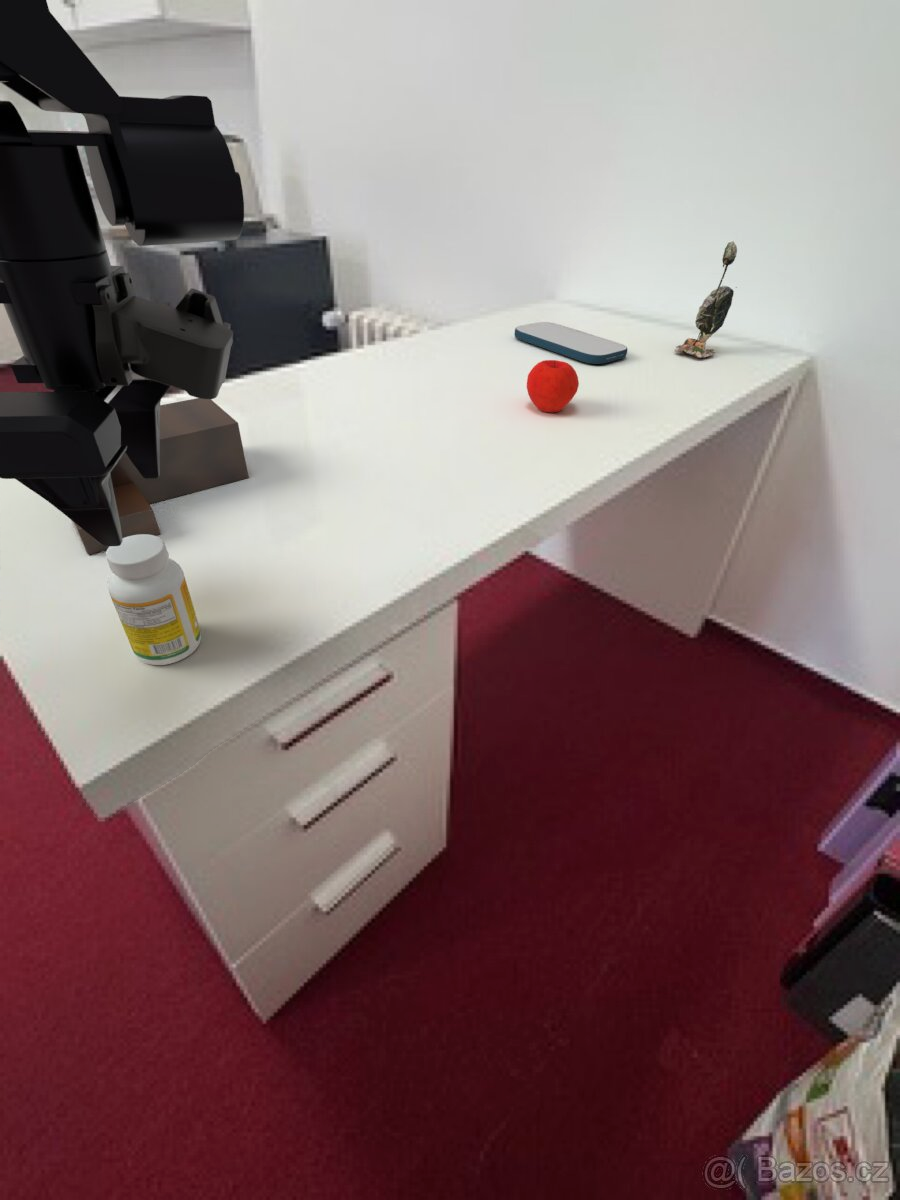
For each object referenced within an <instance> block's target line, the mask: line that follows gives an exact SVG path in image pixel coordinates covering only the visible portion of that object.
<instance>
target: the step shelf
mask: <svg viewBox="0 0 900 1200" xmlns="http://www.w3.org/2000/svg"><path fill="white" fill-rule="evenodd" d="M243 445H244V444H243V441H242V436H241V431H240V426H239V422H238V421H236V419H235V418H233V417H232V416H231V415H230V414H228V412H227V411H225V410H224V409H223V408H222V407H221V406H219V404H217V403H216V402H215V401H214V400H213V399H201V398H197V397H195V398H191V399H186V400H180V401H176V402H170V403H165V404H160V475H159V477H158V478H157V479H145V478H143V477H142V475H141V474H140V473H139V471H138V470H137V469H136V467H135V466H134V465H133V463H132V462H131V460H130V459H129V457H128V456H127V454H126V453H125V452H124V454H123V455H122V457H121V458H120V460H119V461H118V462H117V464H116V465H115V467H114V468H113V469H112V471H111V472H110V475H111V480H112V485H113V490H114V495H115V500H116V505H117V510H118V515H119V520H120V526H121V533H122V538H125V537H128V536H132V535H139V534H148V535H154V536H158V535H161V530H160V527H159V524H158V521H157V518H156V515H155V511H154V509H153V507H152V506H151V504H155V503H159V502H164V501H166V500H170V499H175V498H178V497H183V496H185V495H189V494H193V493H197V492H201V491H205V490H209V489H211V488H215V487H219V486H223V485H226V484H230V483H235V482H237V481H241V480H246V479H249V478H250V476H249V471H248V467H247V461H246V457H245V452H244V446H243ZM70 521H71V523H72V526H73V527H74V530H75V532H76V534H77V536H78V538H79V540H80V542H81V544H82V546H83V548H84V550H85V552H86V554H87V555H88V556H90V555H93V554H97V553H101V552H105V551H107V549H108V548H109V547H110V546H108V547H107V546H103V545H102V544H100V543H99V542H98V541H97V540H95V539H94V538H93V537H92V536H91V535H89V534H88V533H87V532H86V531H84V530H83V529H82V528H81V527H79V526H78V525H77V524H76V523H75V522H73V521H72V520H71V519H70Z"/></svg>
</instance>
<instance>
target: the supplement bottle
mask: <svg viewBox="0 0 900 1200" xmlns="http://www.w3.org/2000/svg"><path fill="white" fill-rule="evenodd" d="M165 543H166V542H165V541H164V540H163V539H162V538H161V537H159V536H158V535H156V536H154V535H148V534H139V535H132V536H128V537H125V538H122V543H121V545H120V546H110V547H109V548H108V549H107V550H105V557H106V561H107V563H108V566H109V569H110V571H111V574H110V575H109V578H108V580H107V591H108V594H109V596H110V599H111V602H112V604H113V606H114V609H115V611H116V614H117V616H118V618H119V621H120V623H121V626H122V628H123V631H124V633H125V635H126V638H127V640H128V643H129V646H130V647H131V650H132V653H133V654H134V657H136V659H137V660H138V661H140V662H142V663H145V664H148V665H152V666H165V665H171V664H174V663H177V662H180V661H182V660H184V659H186V658H188V657H189V656H190V655H191V654H192V653H194V652H195V651H196V650H197V648H198V647H199V645H200V643H201V640H202V631H201V628H200V627H201V626H200V624H199V621H198V618H197V614H196V611H195V607H194V603H193V600H192V597H191V594H190V591H189V587H188V584H187V580H186V576H185V573H184V570H183V568H182V567H181V565H180V564H179V563H178V562H177V561H175V560H174V559H172V558H170V555H169V554H170V553H169V552H168V549H167V546H166V544H165Z"/></svg>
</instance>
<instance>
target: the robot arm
mask: <svg viewBox="0 0 900 1200" xmlns="http://www.w3.org/2000/svg"><path fill="white" fill-rule="evenodd" d="M0 84H2V85H3V86H5V87H6V88H7V89H9V90H10V91H12V92H13V93H15V94H17V95H19V96H20V97H22V98H23V99H25V100H26V101H28V102H29V103H31V104H32V105H33V106H35V107H37V108H38V109H40V110H41V111H44V112H55V113H70V114H81V115H82V116H83V117H84V119H85V123H86V127H87V129H88V131H77V130H45V129H43V130H42V129H28V128H27V126H26V124H25V122H24V119H23V118H22V116H21V114H20V113H19V111H18V109H17V108H16V106H15V105H14V103H12V102H11V101H10V100H0V304H3V307H4V310H5V312H6V314H7V317H8V319H9V322H10V324H11V327H12V329H13V332H14V334H15V338H16V339H17V342H18V344H19V347H20V349H21V352H22V354H23V355H22V356H21V357H20V358H18V359H17V360H15V361H14V362H12V363H10V367H11V370H12V372H13V375H14V377H15V380H16V382H17V384H43V386H44V388H45V389H46V390H50V391H1V392H0V479H3V480H4V479H5V480H10V479H11V480H16V481H18V482H19V483H20V484H22V485H24V486H25V487H26V488H28V489H29V490H30V491H32V492H34V493H35V494H36V495H38V496H39V497H40V498H42V499H44V501H46V502H48V503H49V504H50V505H52V506H53V507H54V508H56V509H57V510H58V511H60V512H61V513H62V514H63V515H65V516H66V517H67V518H68V519H70V521H71V520H72V521H73V522H75V523H76V524H77V525H78V526H79V527H81V528H82V529H83V530H84V531H86V532H87V533H88V534H89V535H91V536H92V537H93V538H94V539H95V540H97V541H98V542H99V543H100V544H102V545H103V546H107V547H108V546H120V545H121V543H122V533H121V526H120V520H119V515H118V510H117V505H116V500H115V495H114V490H113V485H112V480H111V475H110V472H111V471H112V469H113V468H114V467H115V465H116V464H117V462H118V461H119V460H120V458H121V457H122V455H123V454H124V452H125V453H126V454H127V456H128V457H129V459H130V460H131V462H132V463H133V465H134V466H135V467H136V469H137V470H138V471H139V473H140V474H141V475H142V477H143V478H145V479H157V478H158V477H159V475H160V405H161V401H162V399H163V397H164V396H165V395H166V393H168V391H169V390H170V388H171V387H173V388H176V389H179V390H182V391H185V392H186V393H187V395H189V396H190V397H194V398H201V399H211V400H214V399H217V397H218V395H219V393H220V389H221V387H222V386H223V384H224V383H225V382H226V377H227V370H228V365H229V360H230V355H231V348H232V346H233V343H234V339H233V338H234V337H233V336H234V331H233V330H232V329H231V325H232V324H231V323H229V322H226V321H224V322H223V319H222V315H221V311H220V310H219V305H218V303H217V299H216V297H215V295H212V294H209V293H206V292H204V291H202V290H198V289H196V288H190V289H189V290H188V291H187V292H186V293H185V294H184V295H183V297H181V299H180V300H179V302H178V303H177V304H176V305H175V307H174V306H171V302H170V301H168V300H165V299H162V300H161V301H160V302H155V301H153V300H149V299H145V298H144V297H143V298H142V297H139V296H138V294H137V291H136V288H135V285H134V281H133V277H132V275H131V274H130V272H126V270H125V267H124V265H111V261H110V257H109V253H108V250H107V247H106V244H105V239H104V236H103V233H102V230H101V225H100V222H99V219H98V216H97V215H98V214H97V212H96V208H95V204H94V201H93V198H92V194H91V190H90V186H89V183H88V181H87V176H86V173H85V169H84V166H83V162H82V158H81V156H80V152H79V149H78V147H84V152H85V156H86V160H87V165H88V170H89V174H90V178H91V181H92V185H93V189H94V191H95V195H96V198H97V200H98V203H99V205H100V208H101V210H102V213H103V214H104V217H105V219H106V220H107V222H108V223H109V224H110V225H111V226H112V227H119V226H120V227H121V226H125V228H126V231H127V232H128V234H129V236H130V238H131V239H132V241H133V243H135V244H136V245H137V246H139V247H145V246H162V245H163V246H164V245H177V244H181V245H182V244H194V243H210V242H227V241H236V240H238V239H239V238H240V237H241V235H242V232H243V229H244V222H245V221H244V220H245V201H244V191H243V185H242V179H241V175H240V173H239V172H238V171H236V168H235V165H234V160H233V158H232V155H231V152H230V149H229V146H228V144H227V142H226V140H225V138H224V135H223V134H222V132H221V131H220V129H219V127H218V126H217V125H216V121H215V114H214V108H213V103H212V100H211V99H210V98H209V97H208V96H207V95H193V94H192V95H191V94H186V95H185V94H183V95H170V96H167V97H163V98H158V97H157V98H156V97H139V96H123V95H119V94H118V92H117V91H116V90H115V89H114V88H113V86H112V85H111V84H110V83H109V82H108V80H107V79H106V78H105V77H104V76H103V74H102V73H101V72H100V71H99V70H98V68H97V67H96V65H94V63H93V62H92V61H91V59H89V57H88V56H87V55H86V54H85V53H84V51H83V50H82V49H81V47H79V45H78V44H77V43H76V41H75V40H74V39H73V38H72V37H71V36H70V34H69V33H68V32H67V31H66V29H65V28H64V27H63V25H61V23H60V22H59V21H58V20H57V19H56V17H55V16H54V15H53V13H51V11H50V9H49V5H48V2H47V0H0ZM72 521H71V522H72Z"/></svg>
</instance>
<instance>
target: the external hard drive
mask: <svg viewBox="0 0 900 1200" xmlns="http://www.w3.org/2000/svg"><path fill="white" fill-rule="evenodd" d="M514 338H516V339H517V340H519V341H522V342H525V343H528V344H531V345H534V346H536V347H540V348H542V349H545V350H548V351H551V352H553V353H557V354H559V355H562V356H565V357H567V358H571V359H574V360H577V361H580V362H582V363H586V364H592V365H602V364H607V363H611V362H615V361H619V360H622V359H624V358H626V357H627V354H628V347H627V346H626V345H625V344H622V343H620V342H616V341H614V340H610V339H608V338H604V337H601V336H598V335H594V334H592V333H588V332H585V331H582V330H578V329H575V328H573V327H572V328H571V327H569V326H565V325H562V324H560V323H555V322H550V321H549V322H548V321H539V322H538V321H537V322H533V323H529V324H528V323H527V324H523V325H518V326H516V327H515V328H514Z"/></svg>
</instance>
